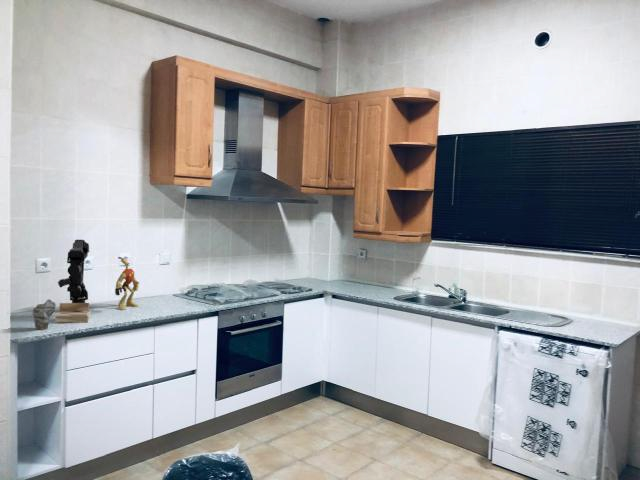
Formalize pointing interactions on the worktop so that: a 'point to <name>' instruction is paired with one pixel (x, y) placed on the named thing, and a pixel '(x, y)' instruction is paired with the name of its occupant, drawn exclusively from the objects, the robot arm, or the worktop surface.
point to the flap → (74, 307)
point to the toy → (126, 286)
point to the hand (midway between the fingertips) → (75, 302)
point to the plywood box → (72, 317)
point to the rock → (43, 314)
